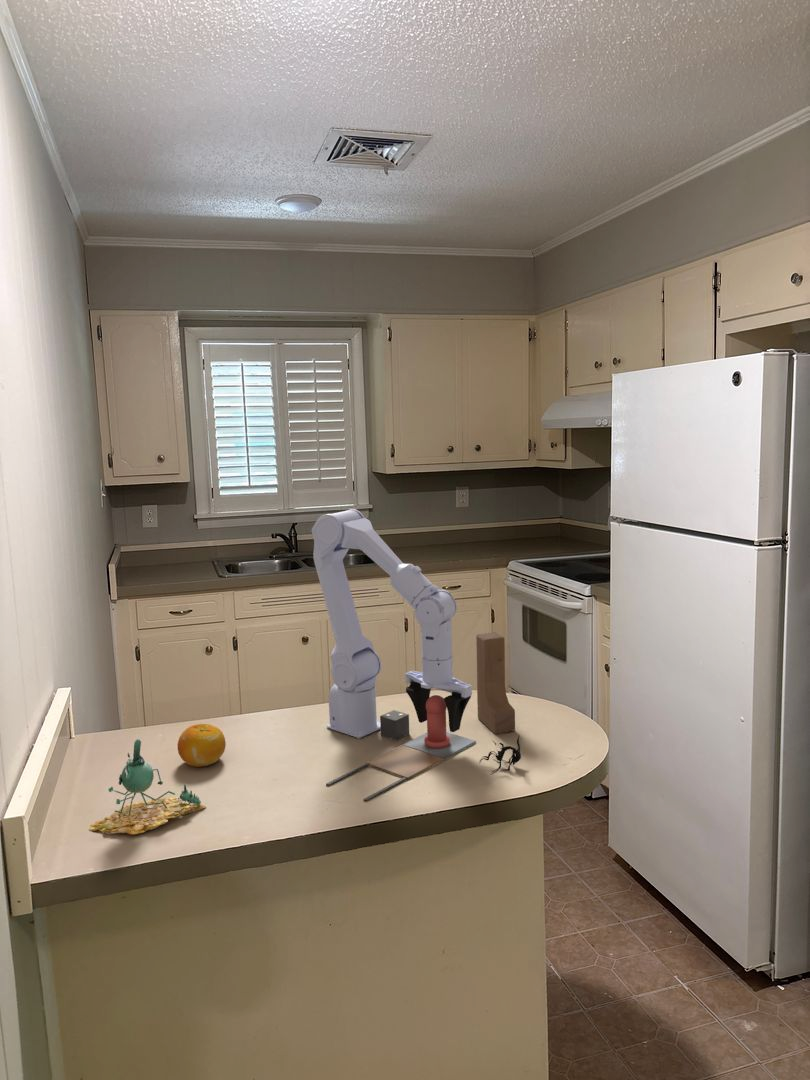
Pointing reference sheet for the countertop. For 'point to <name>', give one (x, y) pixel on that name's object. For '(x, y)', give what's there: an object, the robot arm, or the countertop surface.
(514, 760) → the creature
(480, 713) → the wooden block
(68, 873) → the countertop surface
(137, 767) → the teal figurine on bark
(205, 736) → the fruit
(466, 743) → the board
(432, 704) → the pawn
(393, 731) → the die
